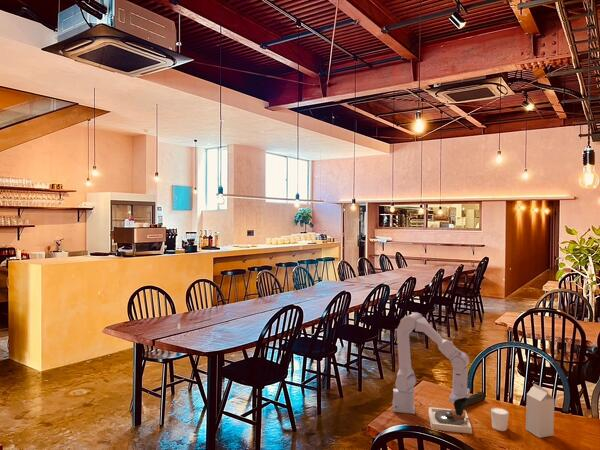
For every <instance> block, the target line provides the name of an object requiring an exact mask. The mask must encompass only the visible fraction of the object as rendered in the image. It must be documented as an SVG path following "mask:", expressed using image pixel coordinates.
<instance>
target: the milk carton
mask: <svg viewBox="0 0 600 450" xmlns="http://www.w3.org/2000/svg"><path fill="white" fill-rule="evenodd" d="M525 406H526V411H525V412H526V413H525V430H526V431H528V432H529V433H531V434H533V435H534V436H536V437H537V438H539V439H541V438H545V437H546V438H547V437H551V436H552V437H553V436H554V430H555V429H554V427H555V426H554V425H555V398H554V396H552V395H551V394H550V393H549V390H548V389H547V388H544V387H542V386H540V385H537V384H536V383H533V386H532V387H531V389H529V391H528V392H527V393H526V405H525Z"/></svg>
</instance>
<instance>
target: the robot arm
mask: <svg viewBox="0 0 600 450" xmlns="http://www.w3.org/2000/svg"><path fill="white" fill-rule="evenodd" d="M399 321H400V322H399V324H398V326H397V329H396V343H397V352H398V353H397V357H398V358H397V359H398V371H397V373H396V379H395V381H394V384H395V388H393V389H392V390H393V392H392V396H393V398H392V412H394V413H395V412H396V413H404V414H412V415H415V414H416V409H415V387H414V386H416V384H417V377H416V375H415V371H414V369H412V368H413V367H412V359H411V343H410V334H411V332H413V330H414V331H415V332H420V333H424V334H425V335H426V336H427V337H429V338H430V339H431V340H432V341H433V342H434V343H436V344H437V347H438V350H439V351H440V352H441V353H442V354H443V355H444V356H445V357H446V358H447V359H448V360H449V361H450V364H451V366H452V390H451V394H450V396H449V397H448V402H449V403H451V404H453V406H454V407H453V408H454V409H455V411H456V414H457V415H460V416H461V415H462V414H463V410H465V408H464V407H465V404H466V402H467V401H468V398H469V397H470V396H471V395H470V392H471V388H468V376H469V375H468V374H469V373H468V365H469V364H470V362H471V361H470V357H469V355H468V354H467V353H466V352H464V351H462V350H460V349H458V348H457V347H456V346H455V345H454V342H453V341H452V340H449V339H445V338H443V337H442V336H441V335H440V334H439V333H438V332H437V331H436V330H435V329H434V327H433V326H432V325H431V324H430V323H429V321H428V320H427V319H426V318H425V317H424V316H423V315H422V314H421V313H419V312H417V311H415V312H413V313H411V314H408V315H405V316H404V317H402V318H401V319H400V320H399Z"/></svg>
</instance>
